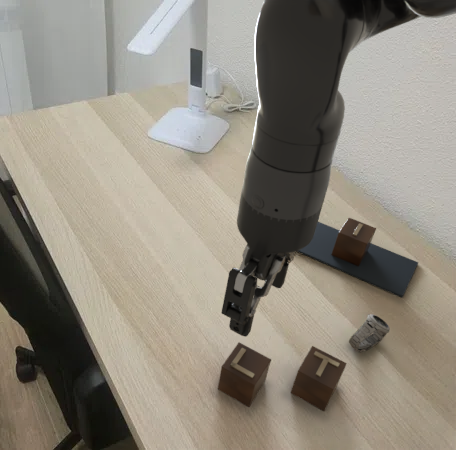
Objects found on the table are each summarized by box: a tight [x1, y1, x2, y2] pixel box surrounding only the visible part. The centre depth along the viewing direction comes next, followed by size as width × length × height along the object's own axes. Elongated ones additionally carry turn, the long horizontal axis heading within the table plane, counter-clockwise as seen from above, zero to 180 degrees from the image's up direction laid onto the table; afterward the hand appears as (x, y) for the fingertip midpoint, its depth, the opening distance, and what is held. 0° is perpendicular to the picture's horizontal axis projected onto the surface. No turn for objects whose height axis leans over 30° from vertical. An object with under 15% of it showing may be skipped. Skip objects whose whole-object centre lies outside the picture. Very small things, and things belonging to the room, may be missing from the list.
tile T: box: [290, 345, 347, 412], centre depth 70 cm, size 5×5×5 cm
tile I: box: [332, 217, 377, 266], centre depth 89 cm, size 5×5×5 cm
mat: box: [296, 221, 419, 298], centre depth 91 cm, size 20×9×1 cm, turn 56°
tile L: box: [217, 341, 272, 408], centre depth 70 cm, size 5×5×5 cm
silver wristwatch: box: [348, 313, 391, 353], centre depth 76 cm, size 4×6×5 cm, turn 120°
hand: (257, 306), depth 62 cm, fingers open, 8 cm apart
